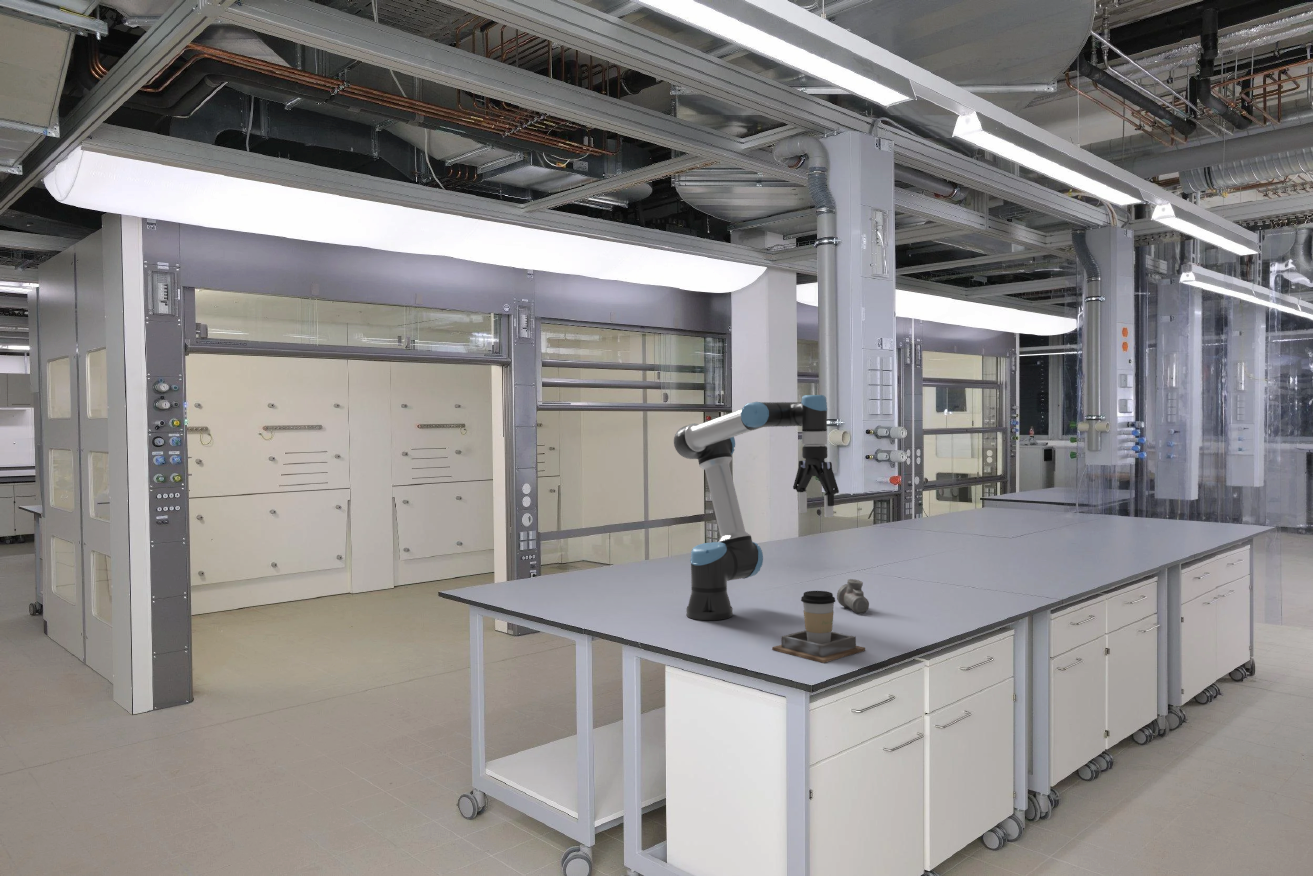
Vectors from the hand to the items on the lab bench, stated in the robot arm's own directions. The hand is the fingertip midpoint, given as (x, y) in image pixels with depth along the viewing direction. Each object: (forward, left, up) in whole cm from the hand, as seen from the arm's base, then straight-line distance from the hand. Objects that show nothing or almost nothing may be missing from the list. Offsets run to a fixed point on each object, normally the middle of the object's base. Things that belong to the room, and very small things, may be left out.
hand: (815, 515), depth 269 cm
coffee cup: (+17, -20, -34) cm, 43 cm away
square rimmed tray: (+17, -20, -35) cm, 44 cm away
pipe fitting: (-7, +28, -35) cm, 45 cm away
